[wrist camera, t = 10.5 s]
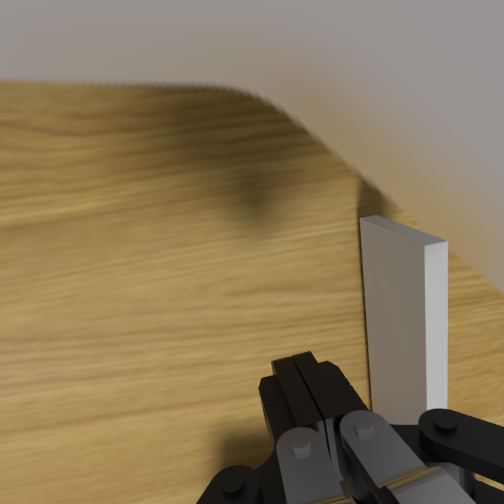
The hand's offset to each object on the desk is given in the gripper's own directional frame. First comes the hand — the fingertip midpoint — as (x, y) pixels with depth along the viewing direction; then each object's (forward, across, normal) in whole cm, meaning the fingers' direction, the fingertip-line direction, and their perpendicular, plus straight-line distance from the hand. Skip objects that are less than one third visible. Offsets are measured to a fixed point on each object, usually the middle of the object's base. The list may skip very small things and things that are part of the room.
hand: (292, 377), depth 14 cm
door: (+7, -7, +5) cm, 11 cm away
